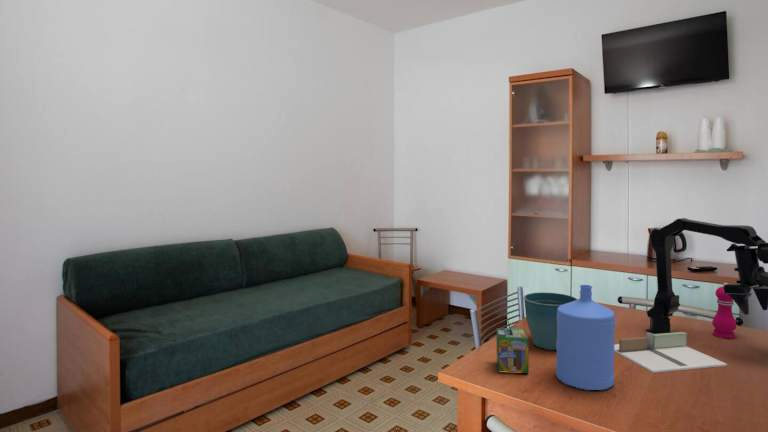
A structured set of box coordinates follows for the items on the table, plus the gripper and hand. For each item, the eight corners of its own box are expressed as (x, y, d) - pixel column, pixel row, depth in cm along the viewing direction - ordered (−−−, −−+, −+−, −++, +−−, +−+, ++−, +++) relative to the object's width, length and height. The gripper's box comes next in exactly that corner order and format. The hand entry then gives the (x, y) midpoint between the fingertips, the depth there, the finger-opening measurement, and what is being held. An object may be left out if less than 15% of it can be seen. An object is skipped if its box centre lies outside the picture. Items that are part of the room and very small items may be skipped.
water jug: (611, 397, 123) (613, 295, 120) (550, 384, 131) (551, 288, 129) (616, 375, 136) (618, 283, 134) (561, 365, 144) (562, 278, 142)
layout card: (606, 346, 159) (606, 330, 158) (671, 341, 163) (671, 325, 163) (653, 372, 137) (653, 353, 137) (727, 365, 141) (727, 347, 141)
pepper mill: (731, 333, 170) (733, 281, 169) (739, 340, 163) (741, 285, 162) (708, 331, 172) (710, 280, 171) (715, 338, 166) (718, 284, 164)
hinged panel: (654, 348, 154) (655, 335, 154) (651, 346, 156) (651, 334, 155) (686, 345, 156) (687, 333, 156) (682, 344, 158) (683, 331, 158)
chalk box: (528, 375, 137) (529, 327, 136) (497, 373, 139) (497, 326, 137) (525, 363, 146) (525, 318, 145) (495, 361, 148) (496, 317, 146)
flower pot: (513, 339, 167) (513, 294, 166) (553, 333, 173) (554, 290, 172) (544, 357, 150) (545, 307, 149) (588, 350, 156) (589, 301, 155)
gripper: (756, 267, 137) (765, 319, 136) (794, 260, 143) (803, 310, 142) (718, 267, 147) (726, 315, 146) (756, 261, 154) (764, 307, 153)
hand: (755, 312), depth 147 cm, fingers open, 9 cm apart
